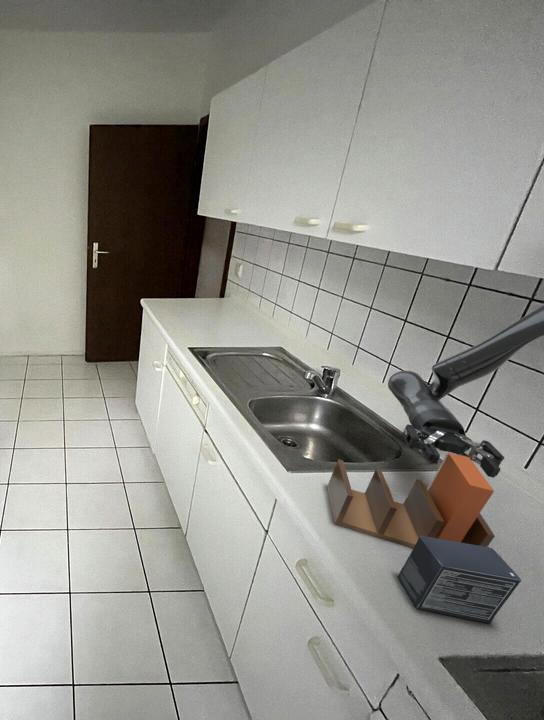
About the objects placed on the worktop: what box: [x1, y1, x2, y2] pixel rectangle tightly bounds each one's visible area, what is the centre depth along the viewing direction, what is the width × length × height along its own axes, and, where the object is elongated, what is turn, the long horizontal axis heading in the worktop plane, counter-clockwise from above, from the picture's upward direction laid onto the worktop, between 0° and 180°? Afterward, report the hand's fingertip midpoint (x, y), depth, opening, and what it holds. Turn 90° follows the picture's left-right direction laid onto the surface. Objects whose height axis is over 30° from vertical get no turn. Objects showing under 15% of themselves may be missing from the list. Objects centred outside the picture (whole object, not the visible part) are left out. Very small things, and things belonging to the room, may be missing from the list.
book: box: [427, 452, 495, 543], centre depth 75 cm, size 3×10×15 cm, turn 155°
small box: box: [397, 536, 523, 624], centre depth 63 cm, size 11×6×10 cm, turn 77°
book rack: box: [326, 459, 495, 549], centre depth 79 cm, size 22×12×8 cm, turn 65°
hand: (464, 466), depth 73 cm, fingers open, 8 cm apart
